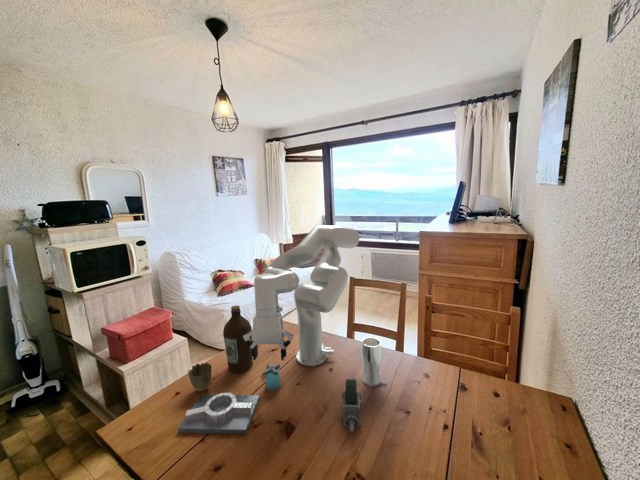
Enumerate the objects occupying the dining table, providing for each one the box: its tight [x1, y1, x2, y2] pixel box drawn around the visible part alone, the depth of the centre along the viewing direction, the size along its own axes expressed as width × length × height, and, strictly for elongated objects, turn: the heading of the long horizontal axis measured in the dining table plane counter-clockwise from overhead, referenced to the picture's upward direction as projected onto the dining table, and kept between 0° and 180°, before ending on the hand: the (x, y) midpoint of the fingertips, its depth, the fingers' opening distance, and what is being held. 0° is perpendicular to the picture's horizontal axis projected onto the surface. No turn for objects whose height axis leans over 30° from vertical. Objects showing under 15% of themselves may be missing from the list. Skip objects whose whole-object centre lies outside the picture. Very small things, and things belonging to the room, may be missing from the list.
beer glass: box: [361, 336, 383, 387], centre depth 92 cm, size 7×7×15 cm
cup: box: [187, 362, 212, 393], centre depth 92 cm, size 8×7×8 cm
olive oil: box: [222, 305, 254, 374], centre depth 103 cm, size 11×11×25 cm
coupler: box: [263, 363, 281, 392], centre depth 92 cm, size 5×5×7 cm
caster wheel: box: [341, 378, 362, 434], centre depth 77 cm, size 6×10×15 cm
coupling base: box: [177, 392, 260, 435], centre depth 80 cm, size 20×13×4 cm, turn 86°
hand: (269, 357), depth 90 cm, fingers open, 9 cm apart
